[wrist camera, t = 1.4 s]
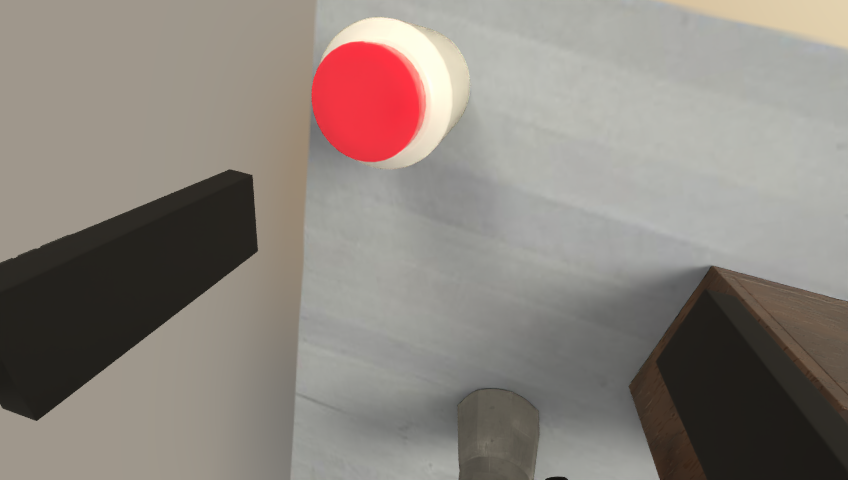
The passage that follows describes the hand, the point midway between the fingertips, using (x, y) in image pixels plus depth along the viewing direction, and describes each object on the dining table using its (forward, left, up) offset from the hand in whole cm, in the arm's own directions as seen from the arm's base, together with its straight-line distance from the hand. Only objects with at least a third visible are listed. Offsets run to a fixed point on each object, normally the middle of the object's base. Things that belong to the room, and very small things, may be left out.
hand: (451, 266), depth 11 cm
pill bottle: (-2, -6, -19) cm, 20 cm away
